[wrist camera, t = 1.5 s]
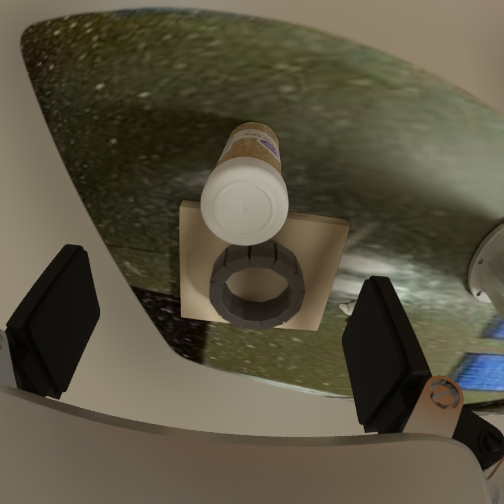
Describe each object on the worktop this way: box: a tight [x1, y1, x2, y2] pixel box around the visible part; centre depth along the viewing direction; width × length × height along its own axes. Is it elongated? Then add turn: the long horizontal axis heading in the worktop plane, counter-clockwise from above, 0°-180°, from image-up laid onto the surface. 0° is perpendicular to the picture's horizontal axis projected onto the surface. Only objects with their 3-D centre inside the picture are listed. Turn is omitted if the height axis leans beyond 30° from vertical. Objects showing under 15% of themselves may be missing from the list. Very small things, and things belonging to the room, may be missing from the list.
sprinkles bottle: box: [200, 122, 288, 246], centre depth 22 cm, size 5×5×13 cm
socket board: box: [179, 200, 350, 331], centre depth 33 cm, size 16×14×4 cm
